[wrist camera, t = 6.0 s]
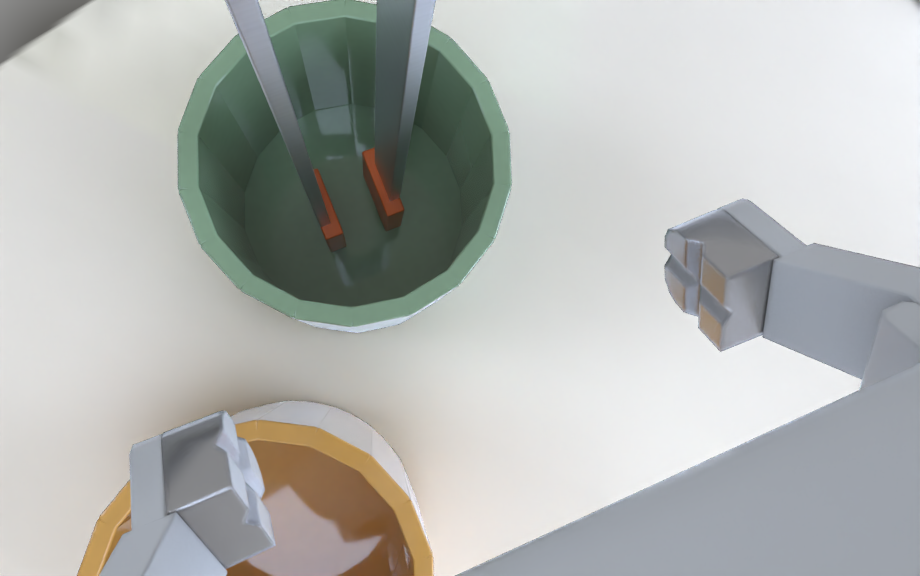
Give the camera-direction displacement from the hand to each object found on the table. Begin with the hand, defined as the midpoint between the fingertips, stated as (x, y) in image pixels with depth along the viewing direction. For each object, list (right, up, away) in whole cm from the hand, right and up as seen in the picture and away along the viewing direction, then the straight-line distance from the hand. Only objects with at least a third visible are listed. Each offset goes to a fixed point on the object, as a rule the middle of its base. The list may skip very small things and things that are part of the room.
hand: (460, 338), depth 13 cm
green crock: (-4, +4, +18) cm, 19 cm away
